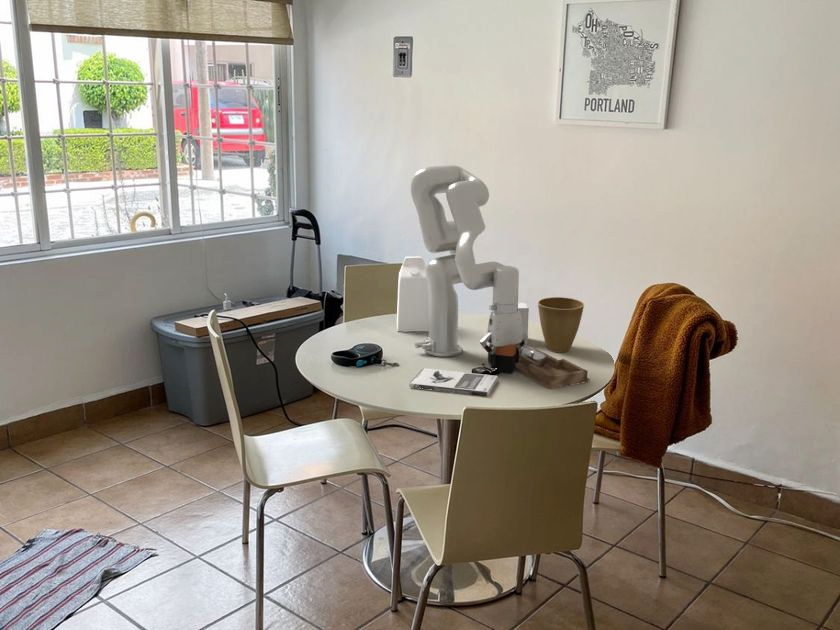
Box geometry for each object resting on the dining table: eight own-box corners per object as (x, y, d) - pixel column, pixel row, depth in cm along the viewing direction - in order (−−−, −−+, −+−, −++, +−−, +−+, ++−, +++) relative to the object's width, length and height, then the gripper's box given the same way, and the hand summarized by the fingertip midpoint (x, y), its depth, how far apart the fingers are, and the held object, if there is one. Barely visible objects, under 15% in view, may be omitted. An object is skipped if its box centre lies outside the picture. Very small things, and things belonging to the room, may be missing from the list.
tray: (549, 388, 225) (549, 377, 224) (504, 363, 246) (504, 352, 245) (589, 381, 230) (589, 370, 229) (541, 357, 252) (542, 347, 251)
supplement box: (527, 344, 266) (529, 308, 263) (505, 344, 266) (507, 308, 263) (525, 337, 273) (526, 302, 270) (504, 337, 273) (505, 302, 270)
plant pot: (528, 345, 265) (529, 299, 260) (566, 340, 270) (568, 295, 266) (550, 358, 251) (552, 310, 247) (590, 353, 256) (593, 306, 252)
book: (497, 382, 231) (497, 375, 231) (487, 398, 219) (487, 391, 218) (423, 374, 238) (423, 368, 238) (409, 389, 225) (409, 383, 225)
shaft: (535, 367, 239) (535, 354, 238) (517, 357, 248) (518, 345, 247) (546, 365, 241) (546, 353, 240) (528, 356, 250) (529, 344, 249)
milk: (428, 322, 291) (429, 253, 285) (431, 331, 280) (431, 260, 273) (396, 323, 291) (396, 254, 284) (397, 331, 280) (397, 260, 273)
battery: (494, 367, 243) (495, 336, 240) (515, 369, 240) (516, 338, 238) (490, 371, 239) (491, 340, 236) (512, 374, 236) (513, 342, 234)
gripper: (486, 313, 227) (484, 371, 232) (536, 307, 234) (534, 363, 239) (473, 307, 234) (472, 363, 239) (523, 301, 241) (521, 356, 246)
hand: (503, 363), depth 239 cm, fingers closed on battery, 7 cm apart
